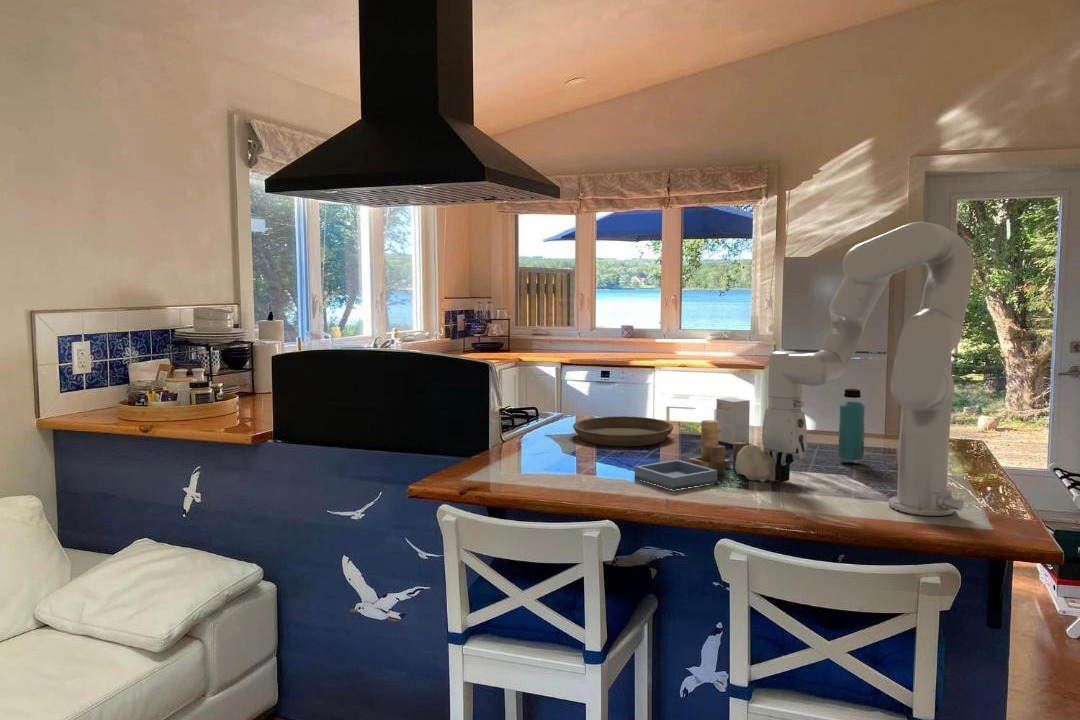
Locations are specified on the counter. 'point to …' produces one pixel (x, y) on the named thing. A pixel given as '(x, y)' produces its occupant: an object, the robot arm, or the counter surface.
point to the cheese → (756, 463)
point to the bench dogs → (723, 456)
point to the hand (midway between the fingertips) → (782, 480)
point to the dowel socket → (705, 464)
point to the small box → (733, 420)
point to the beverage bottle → (851, 427)
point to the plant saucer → (623, 430)
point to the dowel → (708, 438)
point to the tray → (676, 474)
